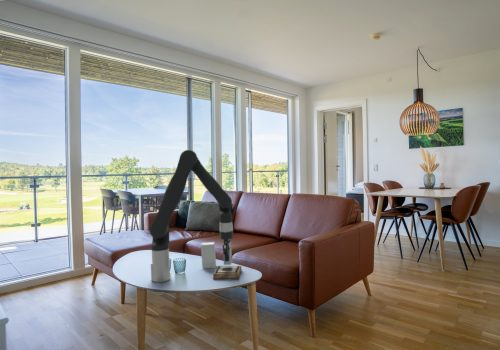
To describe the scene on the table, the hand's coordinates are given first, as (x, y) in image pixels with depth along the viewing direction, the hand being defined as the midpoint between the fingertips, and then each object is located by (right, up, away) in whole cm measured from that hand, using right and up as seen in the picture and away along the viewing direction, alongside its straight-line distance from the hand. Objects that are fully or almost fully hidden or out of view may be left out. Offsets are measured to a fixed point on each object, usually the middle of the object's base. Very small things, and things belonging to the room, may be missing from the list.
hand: (227, 259), depth 187 cm
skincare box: (-13, -9, +16) cm, 22 cm away
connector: (0, -2, 0) cm, 2 cm away
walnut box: (0, -9, 0) cm, 9 cm away
